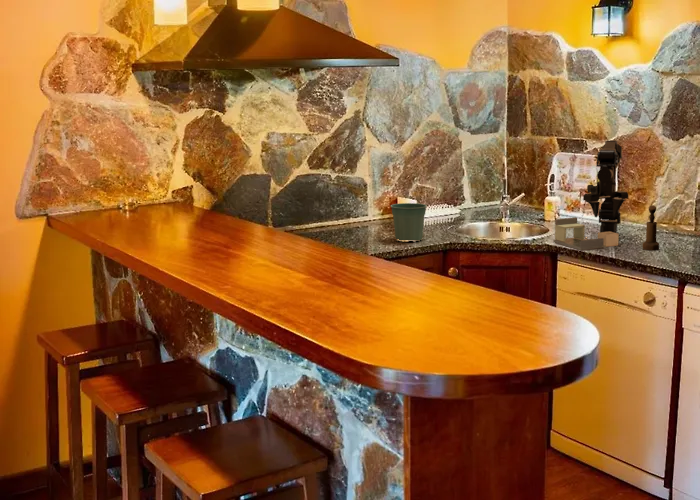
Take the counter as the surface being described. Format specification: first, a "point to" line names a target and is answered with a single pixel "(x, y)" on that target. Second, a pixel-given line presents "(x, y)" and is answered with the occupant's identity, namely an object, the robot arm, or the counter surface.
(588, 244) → the housing base
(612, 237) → the collar
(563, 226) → the cover
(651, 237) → the brown pedestal figurine
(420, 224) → the flower pot
